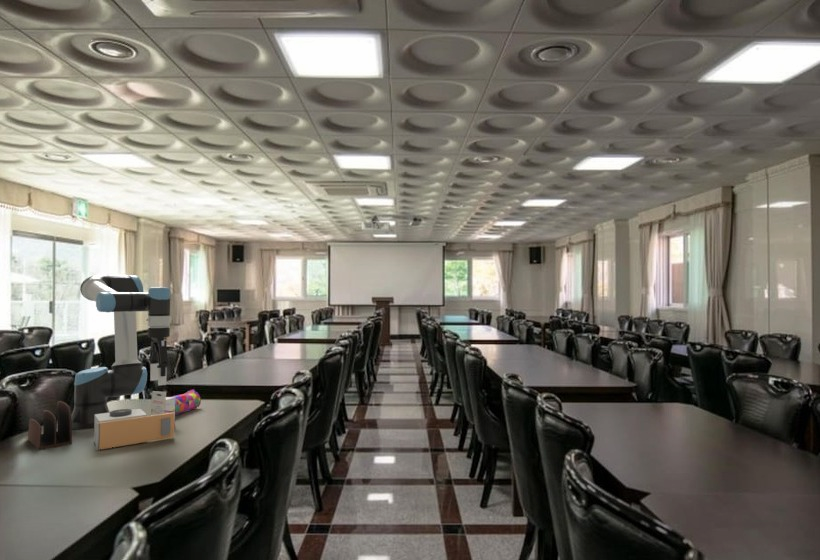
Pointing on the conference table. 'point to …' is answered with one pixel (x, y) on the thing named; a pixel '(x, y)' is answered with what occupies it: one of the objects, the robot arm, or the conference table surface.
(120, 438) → the side door
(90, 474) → the conference table surface
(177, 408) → the pencil case
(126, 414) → the camera housing
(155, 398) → the ink cartridge box
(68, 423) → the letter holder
